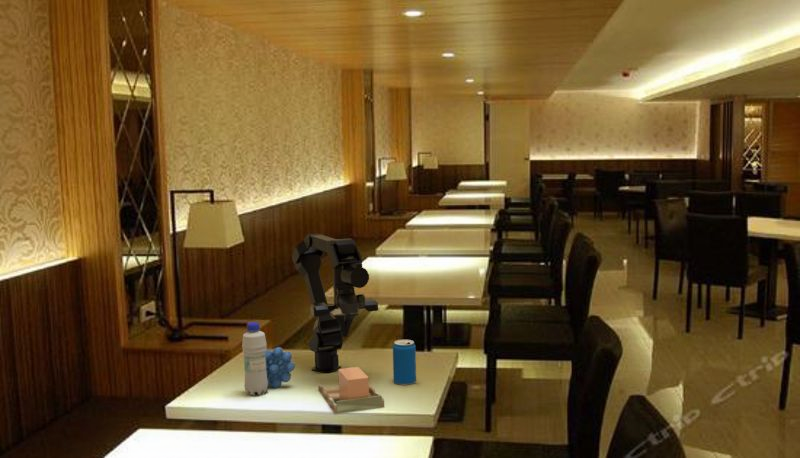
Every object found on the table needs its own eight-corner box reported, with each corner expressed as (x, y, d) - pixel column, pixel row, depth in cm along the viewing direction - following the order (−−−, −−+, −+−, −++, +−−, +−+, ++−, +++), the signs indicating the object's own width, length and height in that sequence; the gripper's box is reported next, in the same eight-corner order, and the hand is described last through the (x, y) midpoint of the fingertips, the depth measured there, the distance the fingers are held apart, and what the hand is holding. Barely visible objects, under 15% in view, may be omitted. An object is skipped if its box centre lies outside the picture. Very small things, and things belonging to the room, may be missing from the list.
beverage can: (414, 387, 211) (413, 345, 210) (391, 386, 213) (390, 344, 211) (418, 380, 218) (417, 339, 216) (396, 379, 219) (395, 338, 218)
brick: (339, 398, 202) (338, 369, 201) (359, 395, 204) (358, 366, 203) (348, 410, 193) (347, 380, 192) (369, 407, 195) (368, 377, 194)
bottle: (248, 398, 205) (245, 326, 203) (241, 391, 211) (237, 321, 209) (272, 394, 208) (269, 323, 206) (264, 387, 214) (261, 318, 212)
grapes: (298, 383, 217) (297, 342, 216) (294, 391, 210) (292, 349, 209) (258, 383, 218) (256, 343, 216) (253, 391, 211) (251, 349, 209)
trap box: (318, 391, 210) (318, 378, 210) (363, 385, 214) (363, 373, 214) (335, 415, 191) (334, 402, 191) (384, 408, 195) (384, 395, 195)
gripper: (316, 290, 205) (319, 346, 206) (382, 284, 210) (384, 339, 212) (308, 283, 215) (311, 337, 217) (372, 278, 221) (373, 331, 223)
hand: (345, 336), depth 217 cm, fingers closed
